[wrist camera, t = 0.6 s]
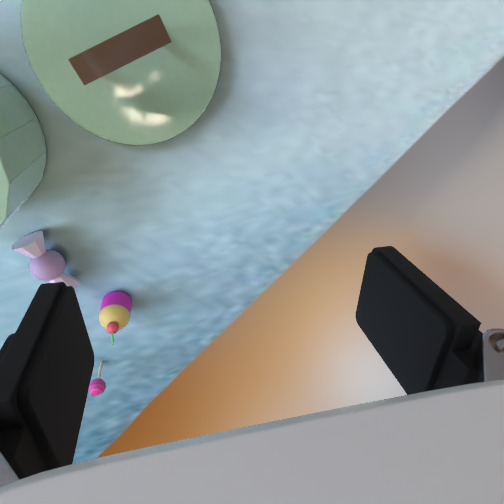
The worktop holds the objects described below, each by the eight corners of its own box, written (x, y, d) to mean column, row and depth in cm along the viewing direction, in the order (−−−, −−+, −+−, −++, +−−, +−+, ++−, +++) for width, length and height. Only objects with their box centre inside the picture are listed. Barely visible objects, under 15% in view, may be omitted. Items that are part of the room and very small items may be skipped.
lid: (-23, -15, 23) (-80, -34, 17) (163, -110, 23) (164, -159, 17) (103, 168, 30) (90, 195, 25) (245, 99, 30) (263, 110, 24)
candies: (-7, 247, 31) (-40, 286, 26) (77, 215, 32) (61, 248, 27) (98, 369, 41) (89, 415, 36) (162, 344, 41) (162, 386, 36)
